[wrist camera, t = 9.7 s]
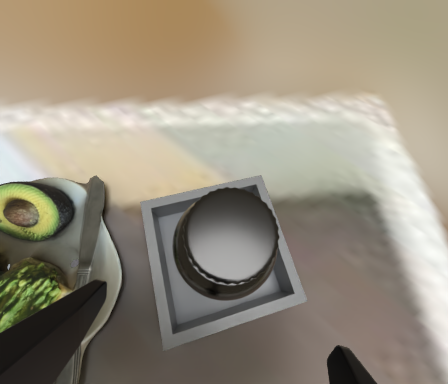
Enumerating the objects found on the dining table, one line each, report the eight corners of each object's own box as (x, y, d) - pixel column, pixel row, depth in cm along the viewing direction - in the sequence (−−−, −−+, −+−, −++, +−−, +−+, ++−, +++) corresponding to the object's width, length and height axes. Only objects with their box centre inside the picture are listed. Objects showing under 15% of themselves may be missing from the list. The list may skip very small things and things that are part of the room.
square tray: (171, 336, 19) (163, 351, 16) (150, 213, 23) (140, 202, 19) (289, 296, 21) (307, 301, 18) (252, 190, 25) (261, 175, 21)
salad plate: (171, 332, 20) (162, 348, 16) (-65, 482, 15) (-169, 563, 11) (99, 163, 25) (78, 140, 21) (-92, 238, 20) (-170, 228, 16)
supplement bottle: (233, 210, 23) (262, 151, 12) (264, 271, 21) (331, 267, 10) (172, 237, 22) (141, 197, 11) (199, 305, 20) (196, 344, 9)
